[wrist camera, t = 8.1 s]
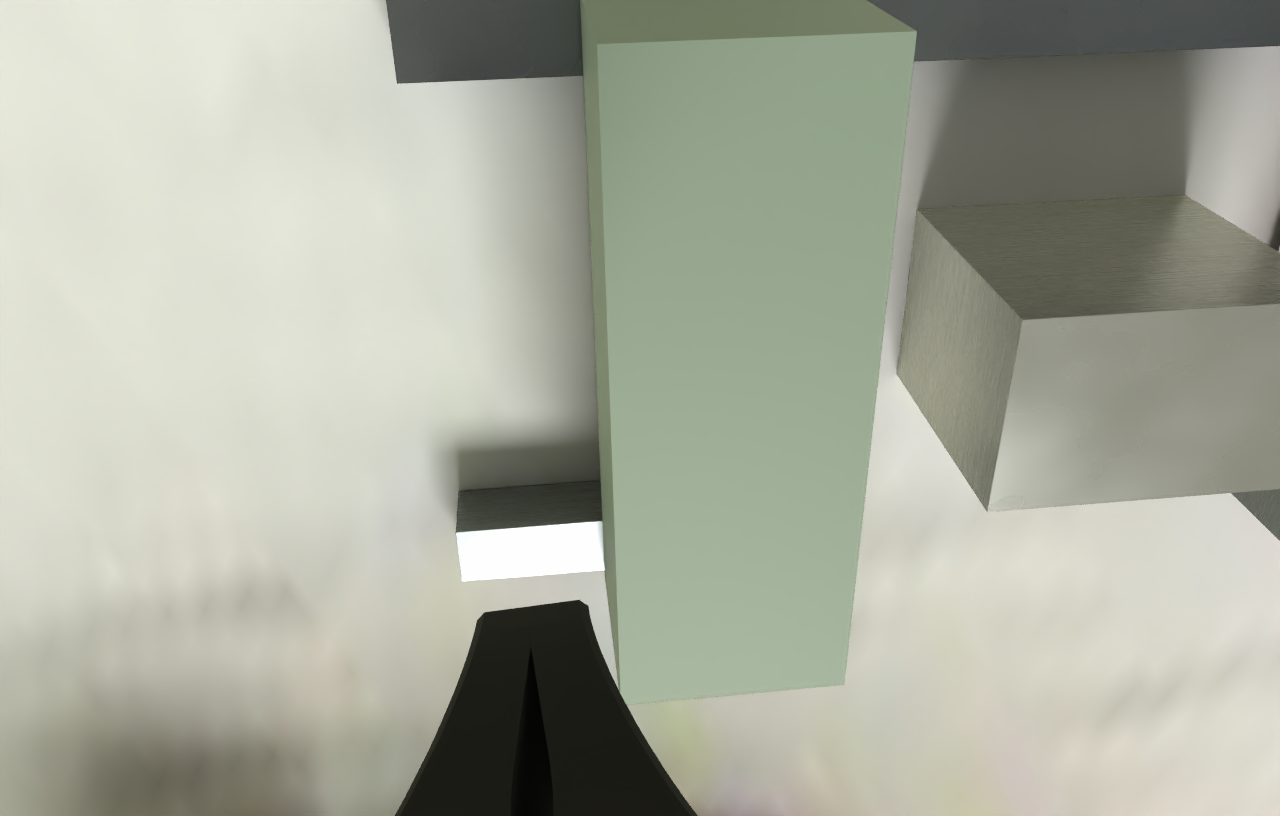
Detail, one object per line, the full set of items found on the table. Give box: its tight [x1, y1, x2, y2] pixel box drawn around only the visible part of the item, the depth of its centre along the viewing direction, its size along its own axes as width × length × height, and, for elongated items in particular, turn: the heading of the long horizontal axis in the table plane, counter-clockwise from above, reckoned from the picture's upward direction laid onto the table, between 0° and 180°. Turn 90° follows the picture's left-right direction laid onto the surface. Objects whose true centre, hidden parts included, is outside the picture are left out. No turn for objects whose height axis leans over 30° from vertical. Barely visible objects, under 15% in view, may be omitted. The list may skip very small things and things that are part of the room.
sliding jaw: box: [580, 0, 917, 705], centre depth 20 cm, size 5×13×5 cm, turn 1°
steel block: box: [897, 195, 1280, 512], centre depth 22 cm, size 6×4×6 cm, turn 91°
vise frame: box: [386, 0, 1280, 582], centre depth 21 cm, size 21×13×5 cm, turn 91°
